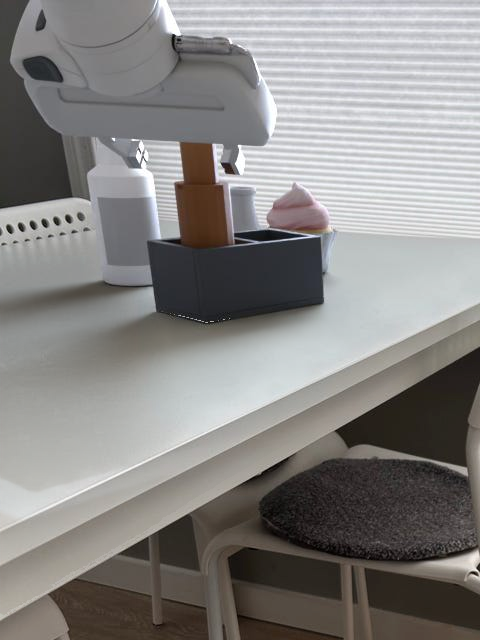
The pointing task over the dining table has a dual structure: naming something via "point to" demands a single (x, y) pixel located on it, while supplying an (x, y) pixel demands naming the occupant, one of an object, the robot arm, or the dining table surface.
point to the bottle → (203, 199)
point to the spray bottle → (123, 218)
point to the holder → (237, 275)
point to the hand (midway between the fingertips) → (187, 166)
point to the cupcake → (303, 218)
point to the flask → (243, 208)
